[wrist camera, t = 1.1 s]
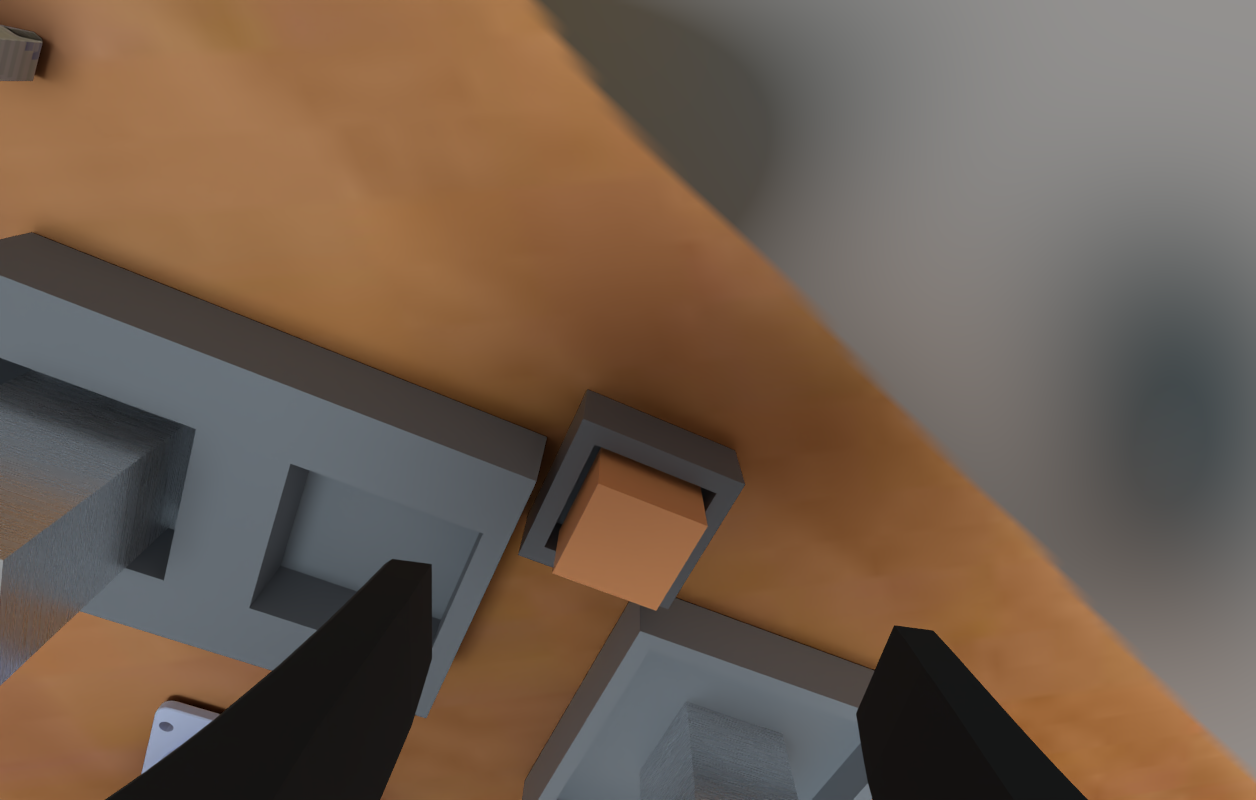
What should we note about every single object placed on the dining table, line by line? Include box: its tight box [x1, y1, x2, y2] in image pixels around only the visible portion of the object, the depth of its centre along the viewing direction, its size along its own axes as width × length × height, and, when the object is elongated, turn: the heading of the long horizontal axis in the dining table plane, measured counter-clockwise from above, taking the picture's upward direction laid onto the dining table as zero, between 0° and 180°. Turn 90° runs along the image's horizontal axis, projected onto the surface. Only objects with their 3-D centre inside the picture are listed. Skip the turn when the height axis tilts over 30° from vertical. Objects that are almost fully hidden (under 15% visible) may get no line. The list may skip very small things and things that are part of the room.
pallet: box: [0, 232, 547, 718], centre depth 20 cm, size 10×15×3 cm, turn 65°
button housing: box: [518, 389, 745, 609], centre depth 21 cm, size 5×5×2 cm
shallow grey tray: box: [522, 598, 874, 800], centre depth 25 cm, size 11×11×2 cm
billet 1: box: [0, 370, 196, 685], centre depth 17 cm, size 4×4×7 cm
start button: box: [553, 447, 708, 611], centre depth 19 cm, size 3×3×2 cm
